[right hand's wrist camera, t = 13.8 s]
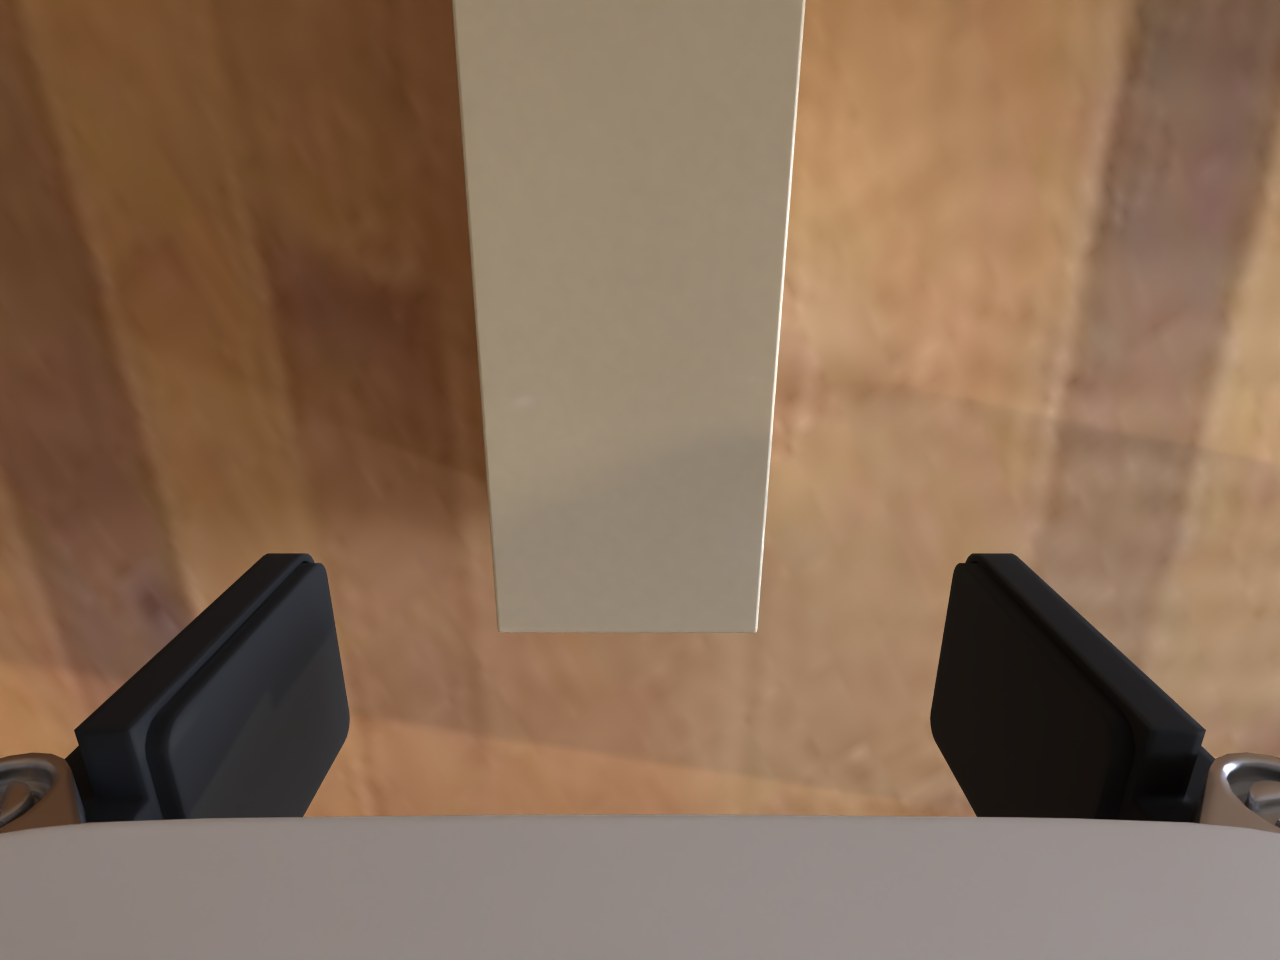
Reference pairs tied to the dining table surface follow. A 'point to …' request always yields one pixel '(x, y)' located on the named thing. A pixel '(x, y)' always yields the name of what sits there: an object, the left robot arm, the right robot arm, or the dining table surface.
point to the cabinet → (628, 299)
